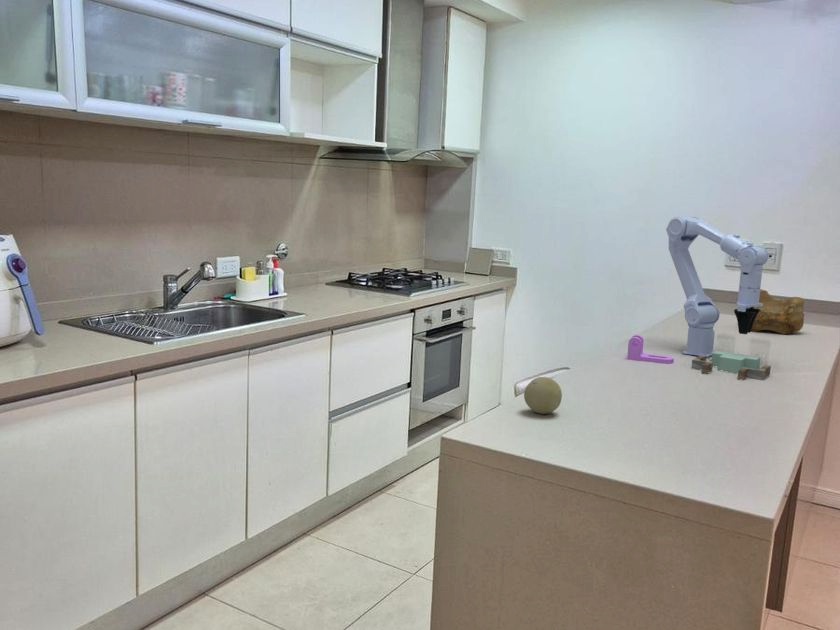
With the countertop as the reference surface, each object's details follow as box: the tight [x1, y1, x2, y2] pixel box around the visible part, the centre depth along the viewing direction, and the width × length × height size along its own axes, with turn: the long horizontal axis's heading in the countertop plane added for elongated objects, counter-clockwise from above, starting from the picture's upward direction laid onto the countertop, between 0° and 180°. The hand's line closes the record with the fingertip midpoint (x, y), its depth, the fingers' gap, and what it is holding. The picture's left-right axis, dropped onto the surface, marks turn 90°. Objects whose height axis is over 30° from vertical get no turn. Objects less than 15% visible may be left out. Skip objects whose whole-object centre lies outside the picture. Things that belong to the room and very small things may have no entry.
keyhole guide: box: [691, 355, 772, 381], centre depth 200 cm, size 13×19×2 cm
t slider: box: [710, 350, 761, 374], centre depth 204 cm, size 9×12×4 cm
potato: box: [523, 376, 563, 415], centre depth 156 cm, size 8×8×8 cm
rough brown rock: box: [750, 288, 805, 335], centre depth 268 cm, size 23×17×15 cm
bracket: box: [626, 334, 675, 365], centre depth 212 cm, size 13×6×7 cm, turn 66°
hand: (744, 333), depth 210 cm, fingers open, 3 cm apart
